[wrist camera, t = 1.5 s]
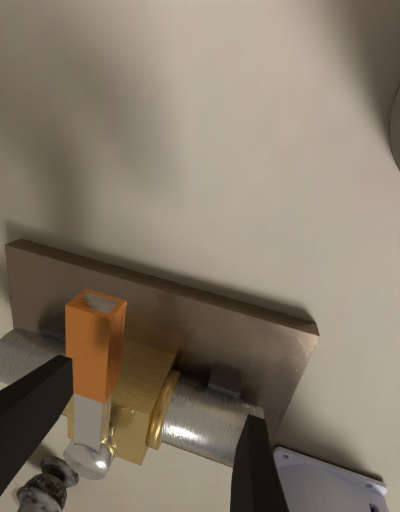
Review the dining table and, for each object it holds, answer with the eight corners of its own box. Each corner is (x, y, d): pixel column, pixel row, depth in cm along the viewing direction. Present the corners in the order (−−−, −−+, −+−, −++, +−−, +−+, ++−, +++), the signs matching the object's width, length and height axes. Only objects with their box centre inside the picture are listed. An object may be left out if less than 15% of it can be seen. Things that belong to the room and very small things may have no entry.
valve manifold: (316, 323, 20) (341, 418, 13) (256, 458, 26) (251, 570, 19) (20, 238, 23) (-86, 279, 16) (31, 378, 29) (-41, 450, 23)
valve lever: (116, 462, 18) (104, 488, 17) (77, 447, 18) (62, 471, 17) (133, 302, 13) (118, 321, 12) (79, 286, 13) (57, 302, 12)
